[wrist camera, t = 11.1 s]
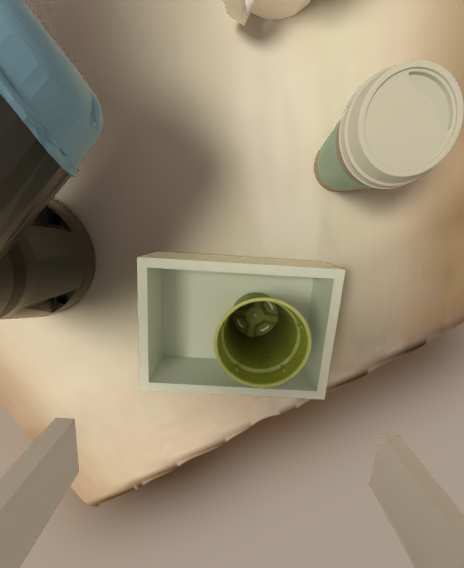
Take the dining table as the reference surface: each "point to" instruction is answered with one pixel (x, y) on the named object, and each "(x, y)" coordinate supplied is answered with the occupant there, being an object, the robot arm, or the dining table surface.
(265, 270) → the box
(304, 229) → the dining table surface
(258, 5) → the mug
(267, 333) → the plant pot
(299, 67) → the dining table surface
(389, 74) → the coffee cup
